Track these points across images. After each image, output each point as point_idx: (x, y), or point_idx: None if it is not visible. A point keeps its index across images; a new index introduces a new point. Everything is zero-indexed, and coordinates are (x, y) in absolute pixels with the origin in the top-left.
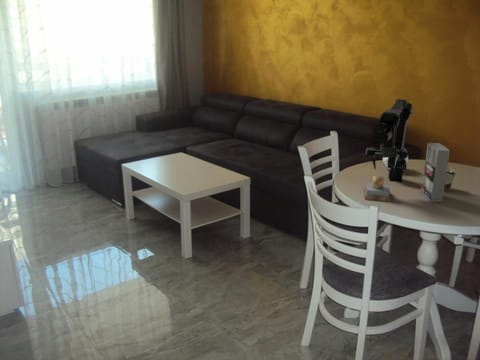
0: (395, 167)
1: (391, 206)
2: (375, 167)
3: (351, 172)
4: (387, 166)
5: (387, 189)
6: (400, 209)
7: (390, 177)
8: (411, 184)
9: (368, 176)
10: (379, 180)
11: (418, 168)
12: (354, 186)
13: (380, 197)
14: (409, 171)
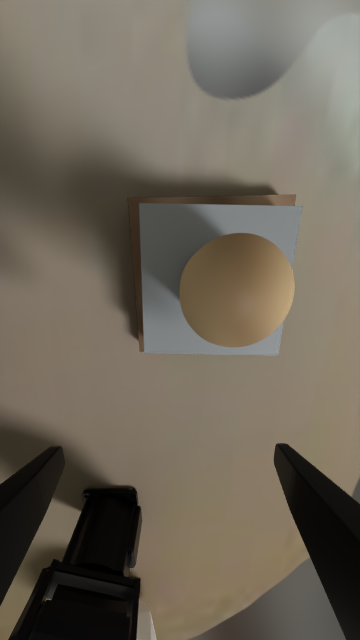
0: (20, 480)
1: (132, 99)
2: (290, 463)
3: (286, 543)
4: (142, 606)
5: (150, 258)
6: (75, 47)
7: (132, 510)
8: None
9: (222, 517)
10: (230, 235)
11: None
12: (304, 393)
13: (197, 197)
14: None
